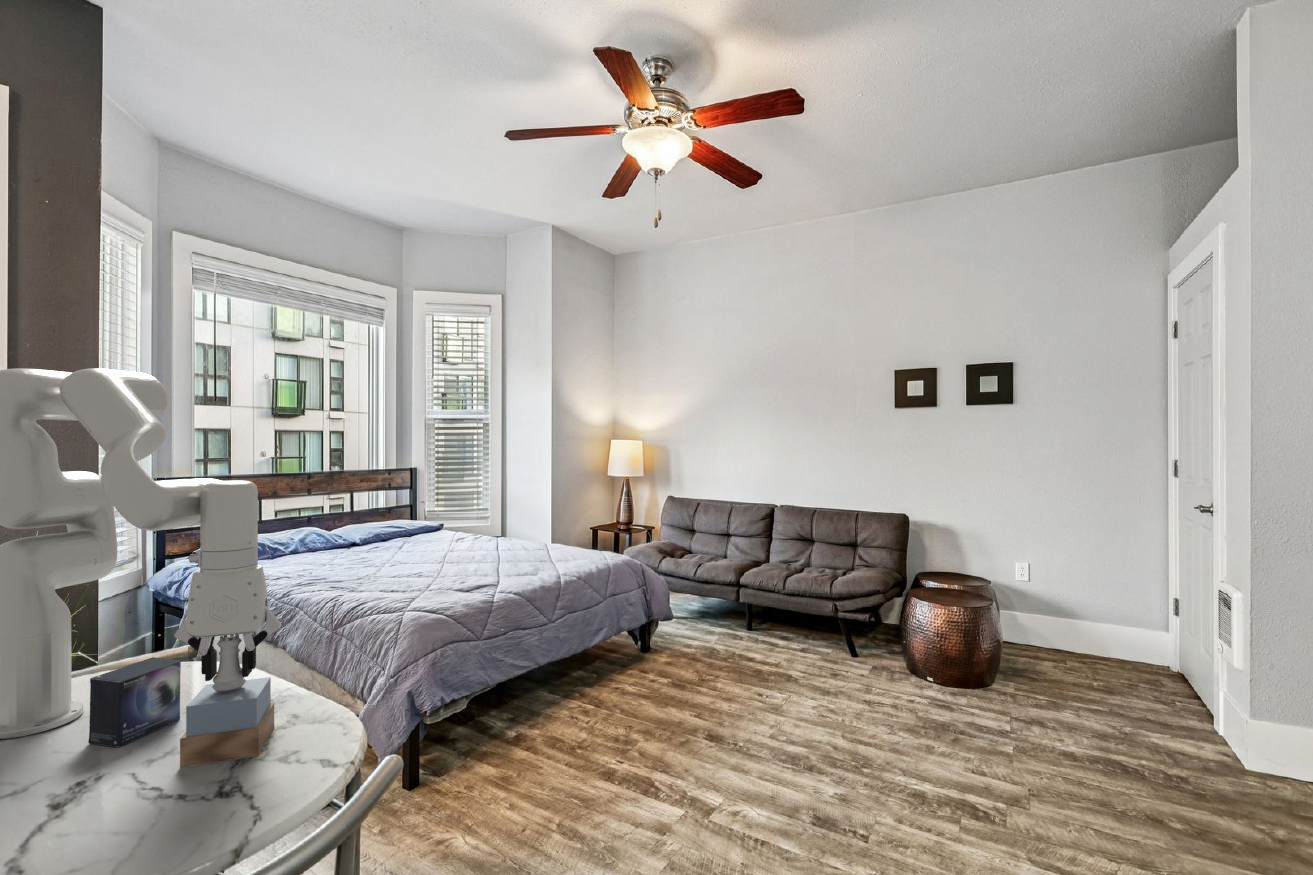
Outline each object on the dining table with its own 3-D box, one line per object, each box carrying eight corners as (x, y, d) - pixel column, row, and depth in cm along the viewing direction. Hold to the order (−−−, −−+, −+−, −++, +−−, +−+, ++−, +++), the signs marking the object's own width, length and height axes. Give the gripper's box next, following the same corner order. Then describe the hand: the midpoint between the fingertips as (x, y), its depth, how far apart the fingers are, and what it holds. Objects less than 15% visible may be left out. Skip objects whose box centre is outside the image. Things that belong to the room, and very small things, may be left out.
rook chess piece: (240, 679, 103) (240, 629, 103) (250, 685, 100) (250, 635, 100) (207, 687, 100) (208, 636, 100) (217, 694, 97) (217, 642, 97)
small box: (119, 748, 99) (119, 681, 99) (86, 745, 100) (86, 678, 100) (183, 719, 109) (183, 658, 109) (151, 716, 111) (151, 656, 111)
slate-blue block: (186, 736, 94) (186, 706, 94) (206, 712, 102) (206, 684, 102) (256, 727, 97) (256, 697, 97) (270, 704, 105) (270, 677, 105)
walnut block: (180, 769, 93) (180, 738, 93) (203, 739, 103) (203, 711, 103) (258, 757, 97) (258, 728, 97) (274, 729, 106) (274, 702, 106)
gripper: (155, 567, 94) (155, 692, 94) (285, 560, 99) (285, 677, 99) (174, 558, 101) (174, 674, 101) (294, 552, 106) (294, 661, 106)
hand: (229, 674), depth 100 cm, fingers closed on rook chess piece, 4 cm apart
